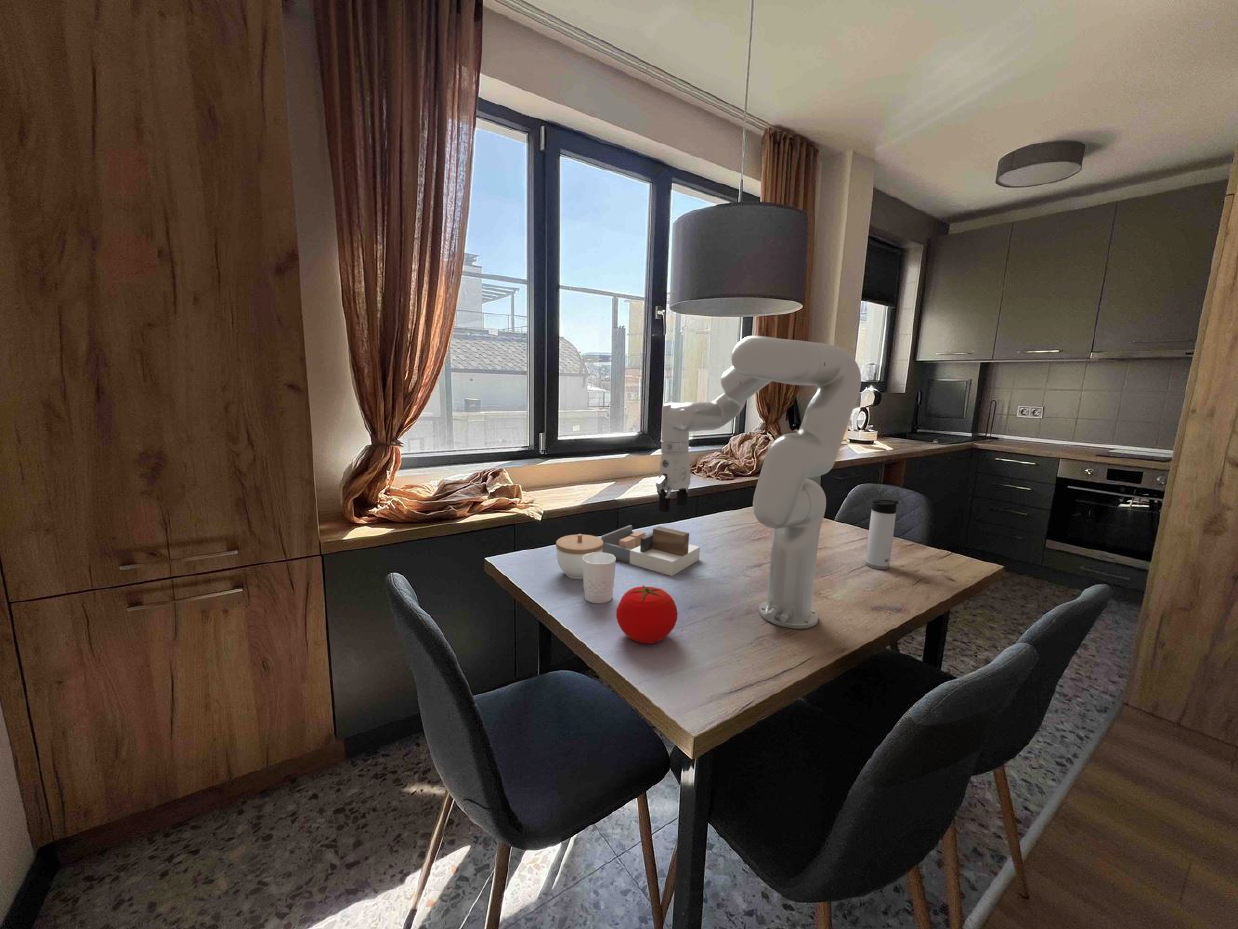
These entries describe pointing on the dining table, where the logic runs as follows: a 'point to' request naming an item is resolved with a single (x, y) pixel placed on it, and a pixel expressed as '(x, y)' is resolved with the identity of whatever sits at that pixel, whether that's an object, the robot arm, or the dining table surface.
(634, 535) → the tile
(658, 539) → the scraper
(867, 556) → the travel mug
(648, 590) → the tomato
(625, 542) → the tile
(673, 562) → the board
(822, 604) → the dining table surface
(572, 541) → the lidded bowl
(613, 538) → the tray
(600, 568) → the white cup
